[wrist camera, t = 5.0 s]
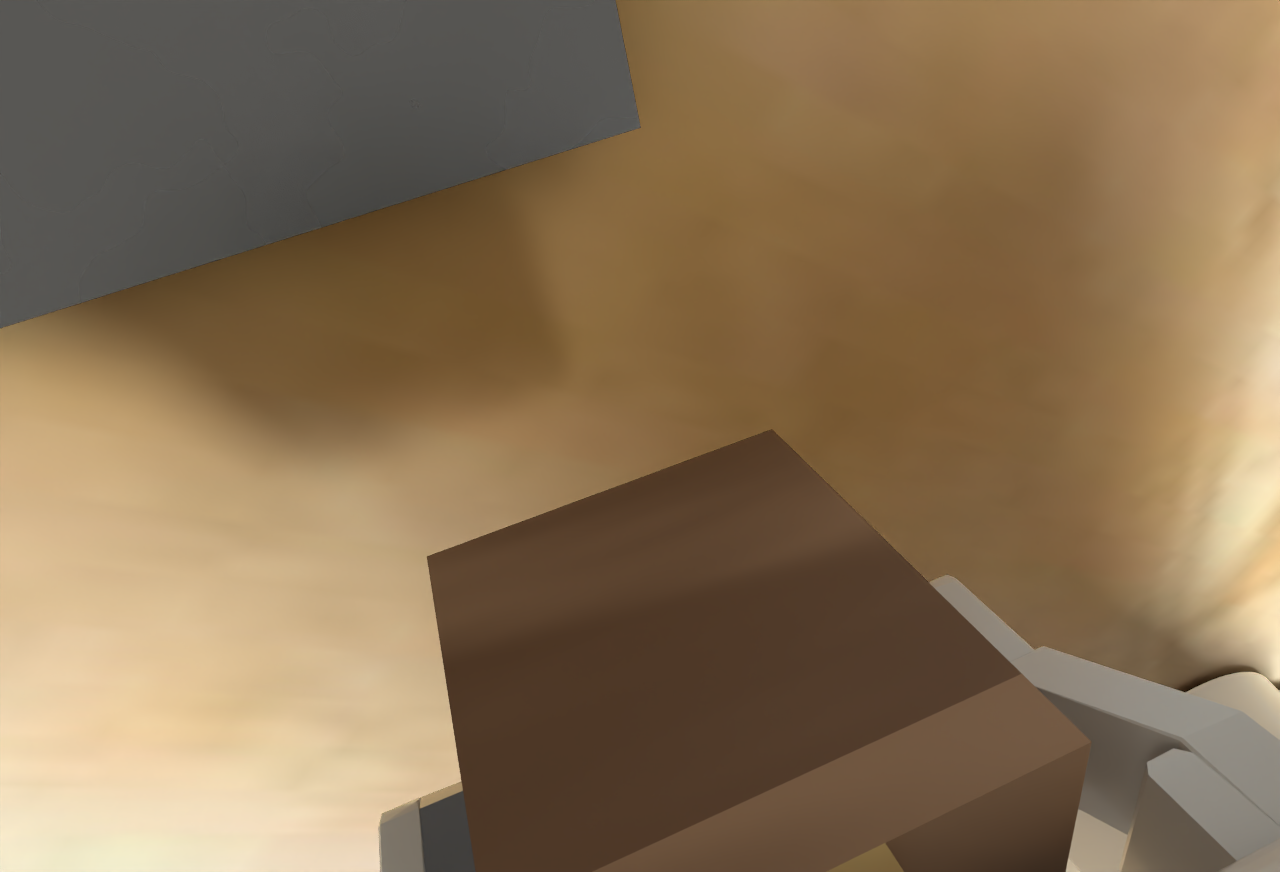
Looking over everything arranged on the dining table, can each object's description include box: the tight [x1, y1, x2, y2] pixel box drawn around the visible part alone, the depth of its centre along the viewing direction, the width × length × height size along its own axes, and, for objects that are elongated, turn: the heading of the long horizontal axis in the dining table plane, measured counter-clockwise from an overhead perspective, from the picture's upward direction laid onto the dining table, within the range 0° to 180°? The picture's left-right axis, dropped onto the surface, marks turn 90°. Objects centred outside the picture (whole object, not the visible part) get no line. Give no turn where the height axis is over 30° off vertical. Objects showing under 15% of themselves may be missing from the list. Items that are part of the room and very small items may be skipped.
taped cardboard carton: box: [427, 429, 1092, 872], centre depth 10 cm, size 5×5×6 cm
